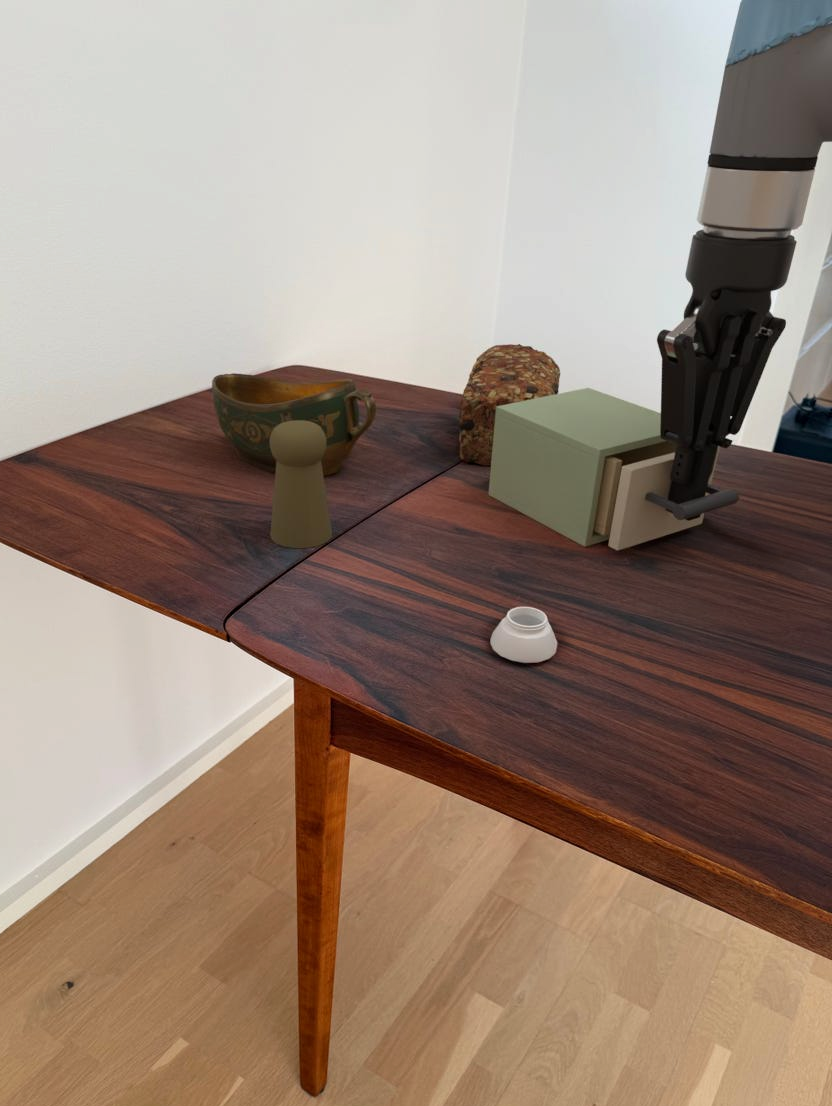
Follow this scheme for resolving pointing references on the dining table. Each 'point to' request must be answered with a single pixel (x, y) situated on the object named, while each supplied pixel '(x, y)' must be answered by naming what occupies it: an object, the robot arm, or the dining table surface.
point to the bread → (501, 393)
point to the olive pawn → (299, 486)
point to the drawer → (648, 497)
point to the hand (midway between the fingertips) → (682, 513)
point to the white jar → (524, 636)
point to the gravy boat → (289, 414)
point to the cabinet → (564, 455)
